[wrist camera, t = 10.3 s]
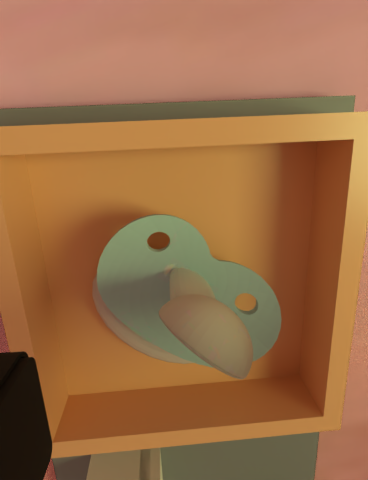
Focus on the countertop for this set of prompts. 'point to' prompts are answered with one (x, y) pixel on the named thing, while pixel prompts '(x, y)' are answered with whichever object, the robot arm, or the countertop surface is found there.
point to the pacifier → (183, 299)
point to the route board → (206, 454)
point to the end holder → (171, 203)
